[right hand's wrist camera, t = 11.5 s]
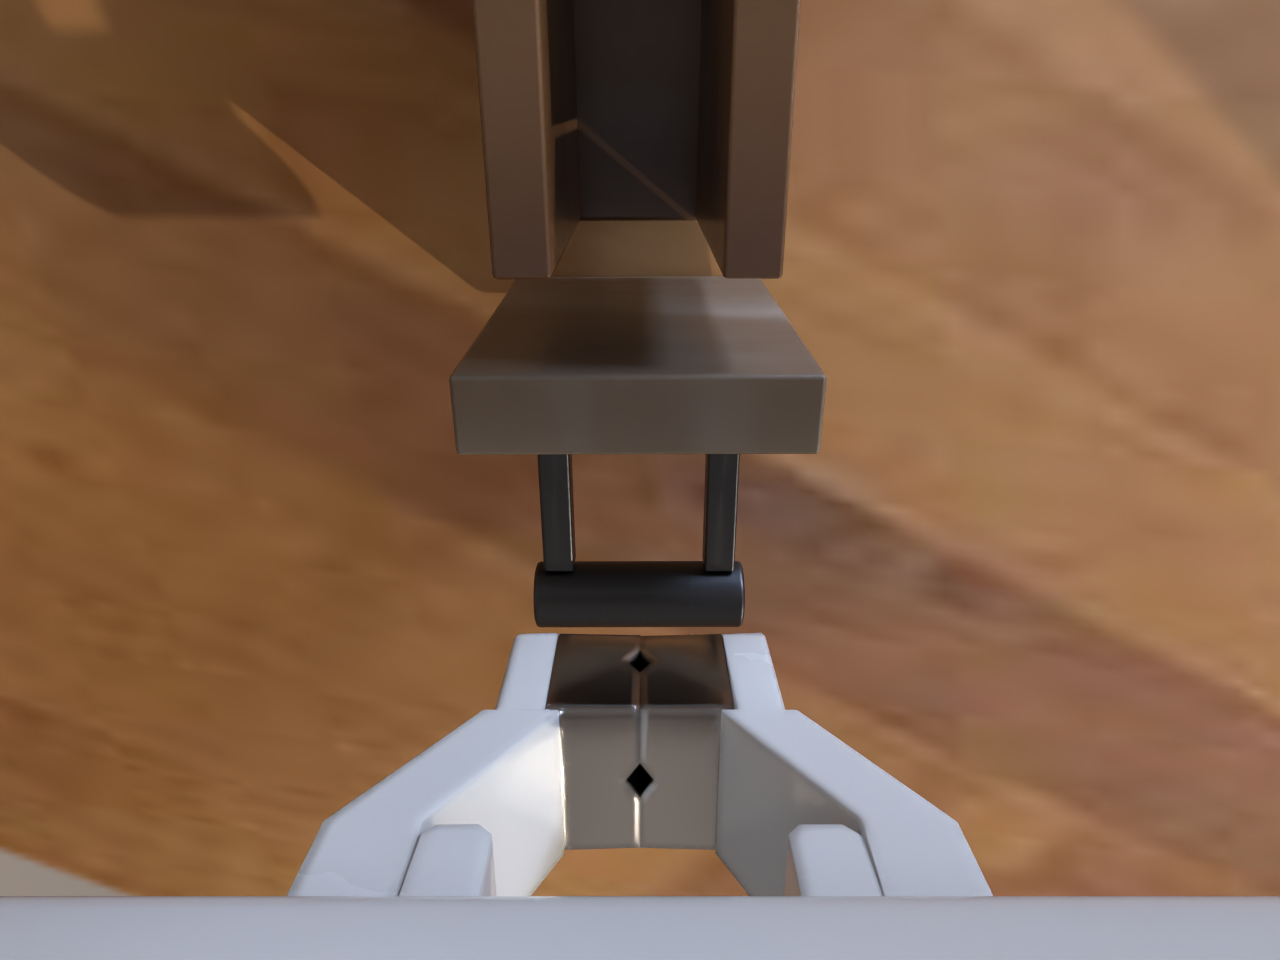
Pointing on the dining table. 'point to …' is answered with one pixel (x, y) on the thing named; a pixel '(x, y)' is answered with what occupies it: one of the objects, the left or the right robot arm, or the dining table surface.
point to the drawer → (637, 305)
